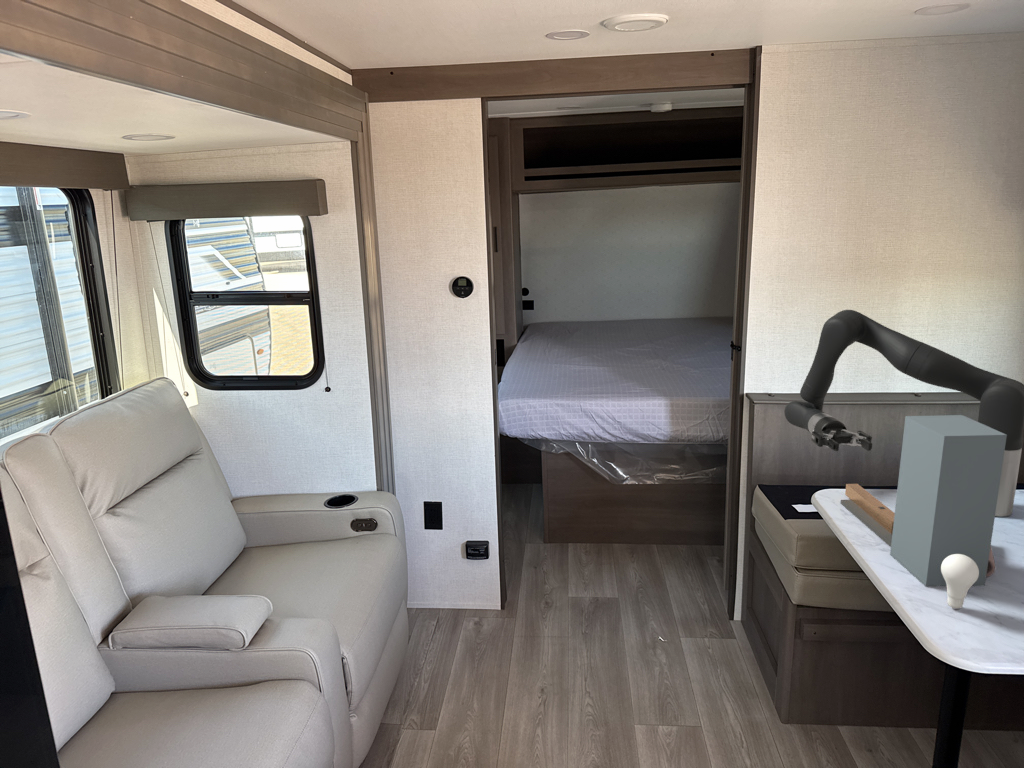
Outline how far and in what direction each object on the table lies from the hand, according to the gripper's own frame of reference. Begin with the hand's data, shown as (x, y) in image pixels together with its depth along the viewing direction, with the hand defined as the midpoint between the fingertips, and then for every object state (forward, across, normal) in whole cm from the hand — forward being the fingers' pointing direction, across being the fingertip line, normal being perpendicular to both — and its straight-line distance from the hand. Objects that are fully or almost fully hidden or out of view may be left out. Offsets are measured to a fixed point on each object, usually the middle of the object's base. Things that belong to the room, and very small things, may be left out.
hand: (853, 447), depth 188 cm
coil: (+35, +12, +14) cm, 40 cm away
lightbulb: (+55, -5, +14) cm, 57 cm away
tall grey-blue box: (+40, 0, +14) cm, 42 cm away
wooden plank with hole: (+12, 0, +13) cm, 18 cm away
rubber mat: (+17, 0, +14) cm, 22 cm away
